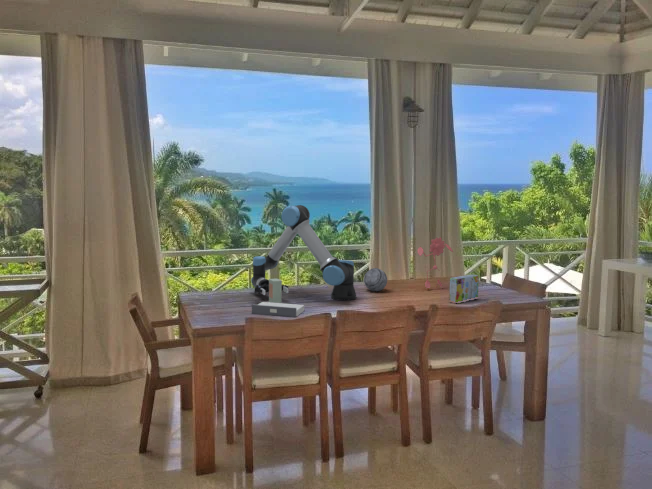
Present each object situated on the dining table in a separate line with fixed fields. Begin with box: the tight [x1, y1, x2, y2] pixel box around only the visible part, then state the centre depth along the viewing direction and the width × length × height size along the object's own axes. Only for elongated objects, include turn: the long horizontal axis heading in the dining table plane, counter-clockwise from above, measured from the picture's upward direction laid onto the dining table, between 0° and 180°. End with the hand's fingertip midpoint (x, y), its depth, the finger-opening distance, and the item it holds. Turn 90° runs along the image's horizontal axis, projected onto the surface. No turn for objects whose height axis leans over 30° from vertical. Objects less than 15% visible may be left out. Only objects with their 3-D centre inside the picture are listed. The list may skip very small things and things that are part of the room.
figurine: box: [416, 236, 454, 289], centre depth 343 cm, size 15×26×35 cm, turn 115°
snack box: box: [448, 274, 480, 302], centre depth 313 cm, size 21×6×15 cm, turn 129°
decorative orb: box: [363, 267, 388, 292], centre depth 338 cm, size 15×14×15 cm
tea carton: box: [268, 278, 283, 303], centre depth 296 cm, size 5×7×14 cm
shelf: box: [251, 301, 305, 318], centre depth 278 cm, size 24×16×4 cm, turn 75°
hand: (276, 291), depth 294 cm, fingers open, 13 cm apart
